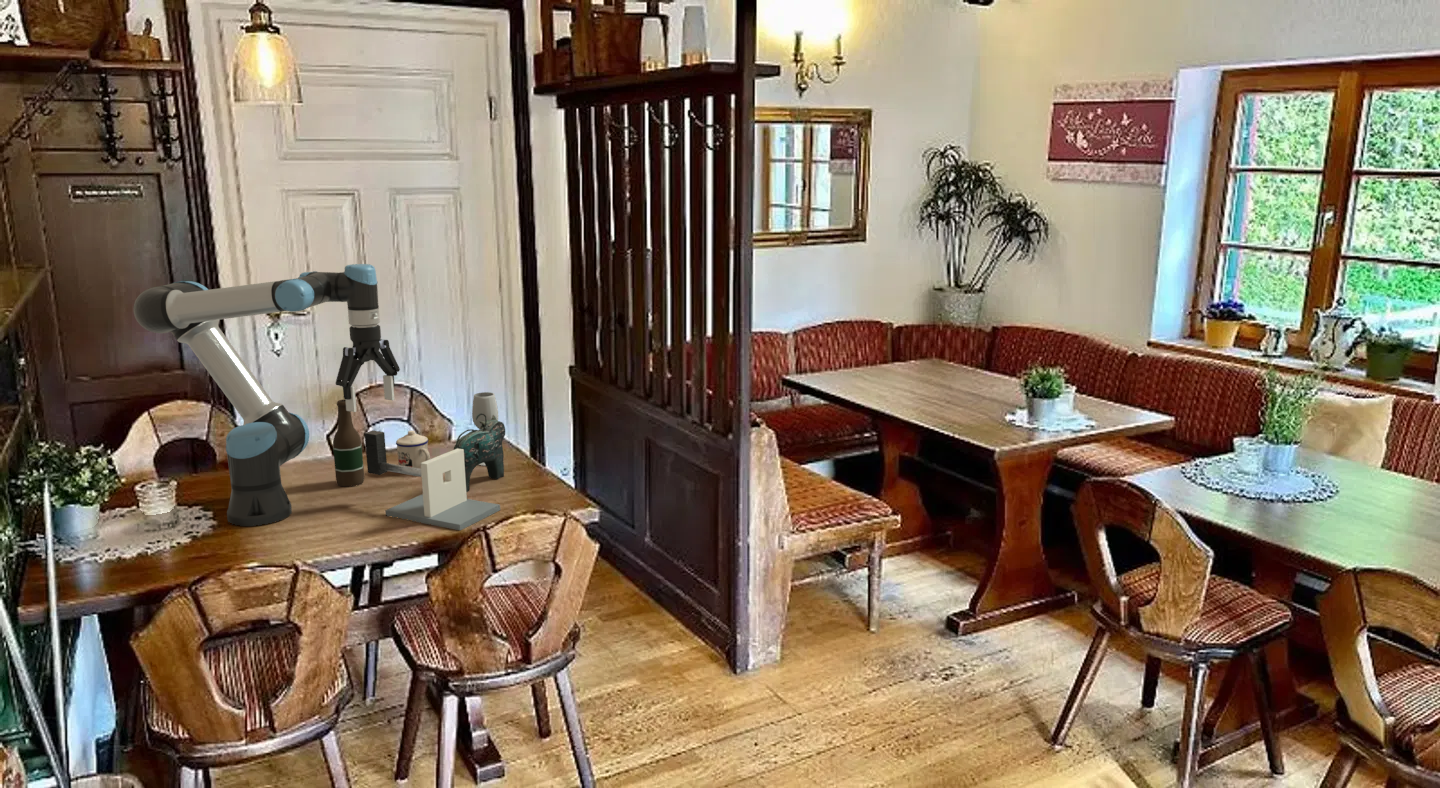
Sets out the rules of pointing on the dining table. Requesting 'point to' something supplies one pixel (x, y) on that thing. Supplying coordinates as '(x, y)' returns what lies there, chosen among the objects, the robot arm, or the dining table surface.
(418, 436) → the teacup with lid
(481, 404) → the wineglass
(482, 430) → the green animal figurine
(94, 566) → the dining table surface
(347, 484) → the beer bottle
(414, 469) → the hook rod
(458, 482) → the panel with square hole
